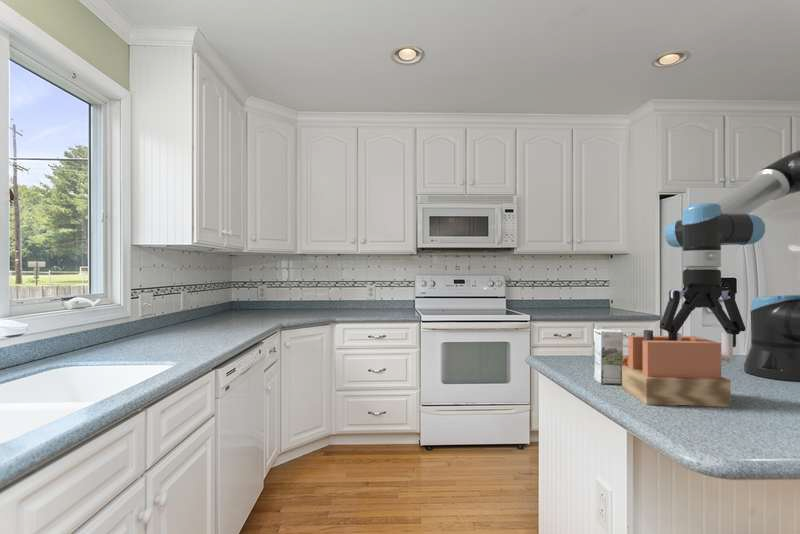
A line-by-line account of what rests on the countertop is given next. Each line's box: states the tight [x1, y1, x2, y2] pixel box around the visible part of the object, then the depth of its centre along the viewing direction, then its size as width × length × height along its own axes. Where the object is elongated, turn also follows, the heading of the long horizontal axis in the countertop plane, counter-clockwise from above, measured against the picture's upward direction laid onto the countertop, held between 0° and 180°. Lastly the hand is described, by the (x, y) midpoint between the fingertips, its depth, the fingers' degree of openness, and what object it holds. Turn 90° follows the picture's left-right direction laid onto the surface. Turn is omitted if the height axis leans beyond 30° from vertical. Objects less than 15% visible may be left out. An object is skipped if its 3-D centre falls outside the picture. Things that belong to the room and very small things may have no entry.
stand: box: [621, 329, 732, 408], centre depth 103 cm, size 18×13×16 cm
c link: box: [627, 335, 722, 378], centre depth 103 cm, size 16×10×8 cm, turn 85°
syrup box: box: [593, 327, 624, 385], centre depth 116 cm, size 6×6×14 cm
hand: (701, 360), depth 102 cm, fingers open, 11 cm apart
